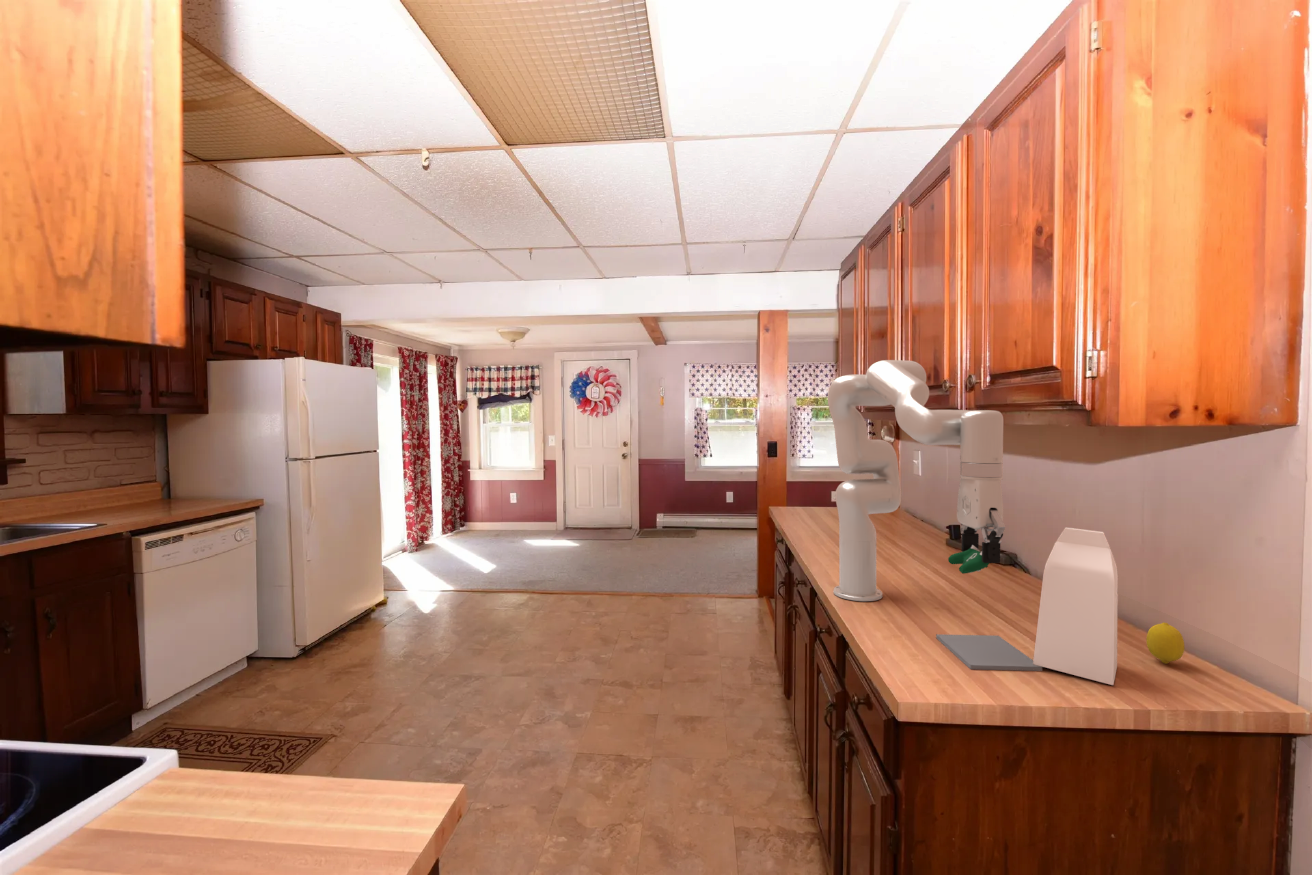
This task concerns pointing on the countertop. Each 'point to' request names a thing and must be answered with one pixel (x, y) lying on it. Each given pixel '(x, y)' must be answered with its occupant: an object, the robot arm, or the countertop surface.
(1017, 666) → the slate mat
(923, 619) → the countertop surface
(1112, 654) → the milk
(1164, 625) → the lemon
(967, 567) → the gaming controller
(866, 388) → the robot arm
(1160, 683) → the countertop surface
